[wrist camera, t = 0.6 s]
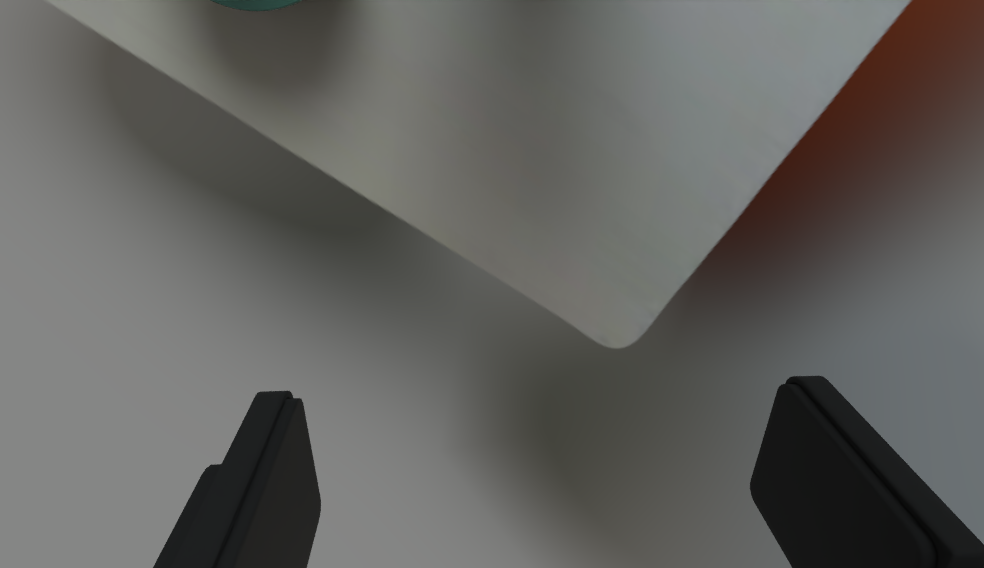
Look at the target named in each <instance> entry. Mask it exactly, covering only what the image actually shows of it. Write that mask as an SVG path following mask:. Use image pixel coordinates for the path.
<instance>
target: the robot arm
mask: <svg viewBox="0 0 984 568" xmlns="http://www.w3.org/2000/svg"><path fill="white" fill-rule="evenodd" d="M750 490H751V495H752V498H753V500H754V502H755V504H756V506H757V508H758V509H759V511H760V513H761V514H762V516H763V518H764V520H765V521H766V523H767V525H768V526H769V528H770V530H771V532H772V533H773V535H774V537H775V539H776V540H777V542H778V544H779V545H780V547H781V549H782V551H783V552H784V554H785V555H786V557H787V559H788V561H789V562H790V564H791V566H792V568H984V545H983V543H982V542H981V541H980V540H979V539H978V538H977V537H976V536H975V535H974V534H973V533H972V532H971V531H970V530H969V529H968V528H967V527H966V526H965V524H964V523H963V522H962V521H961V520H960V519H959V518H958V517H957V516H956V515H955V514H954V513H953V512H952V511H951V510H950V509H949V508H948V507H947V506H946V504H945V503H944V502H943V501H942V500H941V499H940V498H939V497H938V496H937V495H936V494H935V493H934V492H933V491H932V490H931V489H930V488H929V486H927V484H926V483H925V482H924V481H923V480H922V479H921V478H920V477H919V476H918V475H917V474H916V473H915V472H914V471H913V470H912V469H911V468H910V467H909V465H907V463H906V462H905V461H904V460H903V459H902V458H901V457H900V456H899V455H898V454H897V453H896V452H895V451H894V450H893V449H892V447H890V446H889V444H888V443H887V442H886V441H885V440H884V439H883V438H882V437H881V436H880V435H879V434H878V433H877V432H876V431H875V430H874V429H873V427H871V425H870V424H869V423H868V422H867V421H866V420H865V419H864V418H863V417H862V416H861V415H860V414H859V413H858V412H857V411H856V410H855V408H854V407H853V406H852V405H851V404H850V403H849V402H848V401H847V400H846V399H845V398H844V397H843V396H842V395H841V394H840V393H839V392H838V391H837V390H836V389H835V387H833V385H832V384H831V383H830V382H829V381H828V380H827V379H825V378H824V377H822V376H794V377H790V378H789V379H788V380H787V381H786V383H785V384H783V385H781V386H780V387H779V388H778V391H777V394H776V397H775V400H774V404H773V407H772V411H771V414H770V418H769V421H768V424H767V428H766V431H765V434H764V438H763V441H762V444H761V448H760V451H759V454H758V458H757V461H756V464H755V468H754V471H753V475H752V478H751V482H750ZM320 511H321V499H320V493H319V488H318V482H317V476H316V472H315V466H314V460H313V455H312V450H311V444H310V439H309V433H308V428H307V422H306V417H305V411H304V406H303V402H302V400H301V399H300V398H293V395H292V393H291V392H290V391H273V392H272V391H269V392H259V393H257V395H256V396H255V398H254V400H253V402H252V404H251V406H250V408H249V410H248V412H247V414H246V416H245V418H244V420H243V422H242V424H241V426H240V428H239V430H238V432H237V434H236V436H235V438H234V440H233V442H232V444H231V447H230V448H229V450H228V452H227V455H226V456H225V458H224V460H223V463H222V464H220V465H210V466H209V467H207V468H206V469H205V471H204V472H203V474H202V475H201V477H200V479H199V481H198V483H197V485H196V487H195V489H194V491H193V492H192V495H191V497H190V498H189V500H188V502H187V504H186V506H185V508H184V510H183V512H182V513H181V515H180V517H179V519H178V521H177V523H176V525H175V527H174V529H173V531H172V533H171V534H170V536H169V538H168V540H167V542H166V544H165V546H164V548H163V550H162V552H161V553H160V555H159V557H158V559H157V561H156V563H155V565H154V567H153V568H307V564H308V560H309V556H310V552H311V548H312V544H313V541H314V537H315V533H316V529H317V525H318V522H319V517H320Z"/></svg>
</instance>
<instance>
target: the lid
mask: <svg viewBox="0 0 984 568" xmlns="http://www.w3.org/2000/svg"><path fill="white" fill-rule="evenodd" d="M211 1H213V2H216V3H218V4H221V5H224V6H227V7H231V8H235V9H239V10H248V11H269V10H275V9H281V8H285V7H288V6H291V5H294V4H296V3H298V2H300V1H302V0H211Z"/></svg>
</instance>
